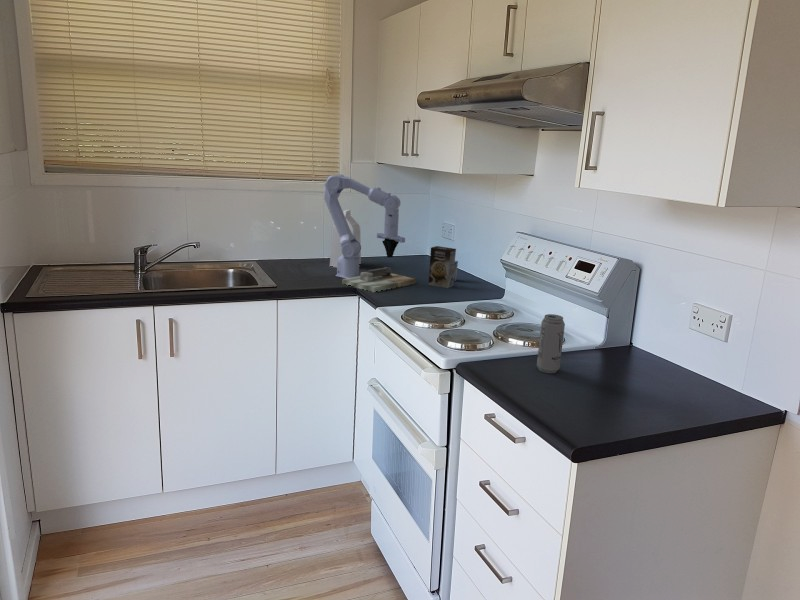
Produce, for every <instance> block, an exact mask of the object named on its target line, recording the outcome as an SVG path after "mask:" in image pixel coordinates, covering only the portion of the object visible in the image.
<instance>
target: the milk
mask: <svg viewBox="0 0 800 600" xmlns="http://www.w3.org/2000/svg"><path fill="white" fill-rule="evenodd" d="M342 211H343V213H344V216H345V218H346V221H347V223H348V226H349V228H350V230H351V233H352V234H353V235H354V236H355V238H356V240H357V241H358V242H359V243H360V245H361V225H360V223H359V222H357V221H356V219H355V218H354V217H352V215H351V209H345V210H342ZM330 241H331V242H330V254H329V267H330V266H333V267H332V268H337V261H338V259H339V257H340V256H343V254H342V252H341V244H340V236H339V233H338V231H337V228H336V226H335V223H334V224H333V225H332V228H331V239H330ZM361 246H362V245H361ZM361 251H362V250H361ZM361 251H360V252H359V253H358V254H359V256H360V257H359V264H361V265H362V258H361V257H362V256H361V255H362V254H361V253H362V252H361Z"/></svg>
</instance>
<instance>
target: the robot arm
mask: <svg viewBox="0 0 800 600" xmlns="http://www.w3.org/2000/svg"><path fill="white" fill-rule="evenodd" d="M324 187H325V188H324V198H323V199H324V201H325V204H326V207H327V209H328V210H329V211H328V212H329V213H330V215H331V219H332V221H333V223H334V224H335V226H336V228H337V231H338V233H339V236H340V244H341V252H342V254H343V256H340V257H339V259H338V261H337V267H336V274H335V277H338V278H341V279H347V278H352V277H358V276H361V274H360V265H359V257H360V256H359V254H358V253H359V252H360V251H362V245H360V244H361V242H360V243H359V242H358V241H357V240H356V238H355V236H354V235H353V234H352V233H351V230H350V228H349V226H348V223H347V221H346V218H345V216H344V213H343V211H344V210H343V209H342V206H341V204H340V202H339V197H340V195H341V192H342V191H343V190H346V189H352V190H354V191H356V192H358V193H361V194H363V195H365V196H367V197H368V200H369V201H371V202H373V203H375V204H377V205H379V206H381V207H384V209H385V210H384V211H385V212H384V226H383V228H384V231H383V233H381V232H380V233H376V239H382V244H383V247H384V249H385V252H386V253H385V254H386V258H393V257H394V254H395V250H396V247H398V245H399V244H400V243H406V238H405V237H403V236H400V235H399V232H398V231H399V208H400V206H401V200H400V198H399V197H398V196H397V195H392V193H390V192H386V191H383V190H382V188H380V187H372V188H370V187H369V186H367V185H365V184H363V183H361V182H359V181H357V180H355V179H354V178H352V177H349V176H346V175H343V174H340V173H339V174H335V175H334V174H332V175H330V176H328V178H327V179H326V181H325V183H324Z"/></svg>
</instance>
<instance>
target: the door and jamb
mask: <svg viewBox="0 0 800 600" xmlns="http://www.w3.org/2000/svg"><path fill="white" fill-rule="evenodd" d="M341 279H342V282H341V284H342V285H344V284H346V285H345V286H348V285H351V286H354V287H353V288H355V289H358V290H362V289H364V291H366V290H368V291H367V292H370V291H371V292H370V293H377V292H376V291H378V292H382V291H381V290H383V291H386V289H388V290H391V288H392V289H396V287H397V288H401V286H402V287H406V286H410V284H411V285H414V284H416V281H417V280H416V278H414V277H410V276H409V277H408V276H406V275H400V274H398V273H397V274H396V273H392V272H391V275H384V276H378V277H373V273H369V272H368V271H364V272H363V271H362V272H360V276H358V277H352V278H347V279H345V278H341ZM351 286H350V287H351Z"/></svg>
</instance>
